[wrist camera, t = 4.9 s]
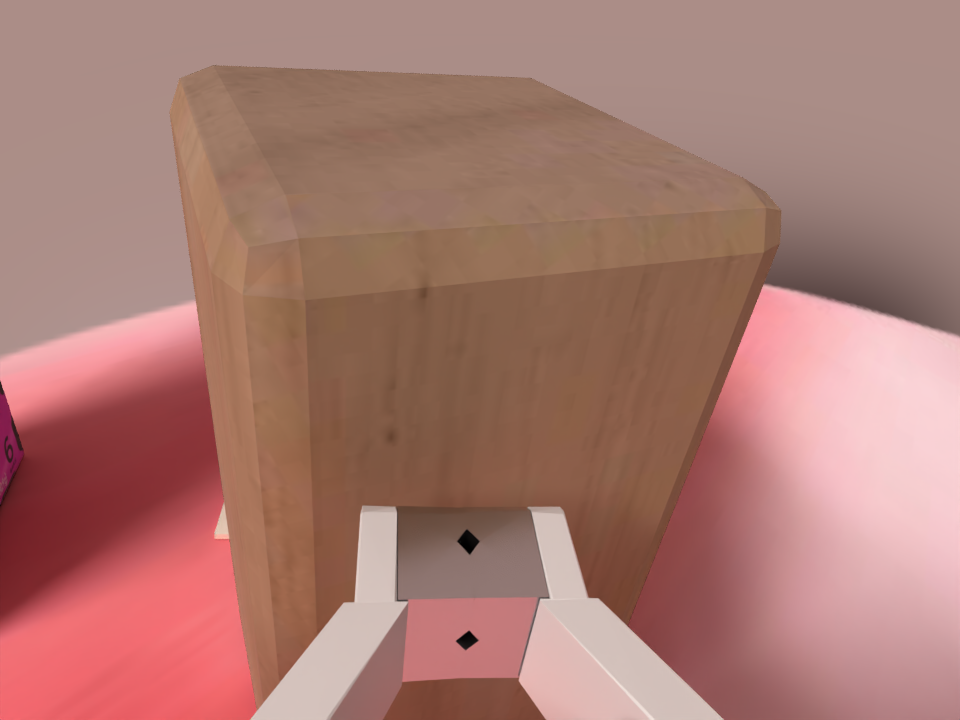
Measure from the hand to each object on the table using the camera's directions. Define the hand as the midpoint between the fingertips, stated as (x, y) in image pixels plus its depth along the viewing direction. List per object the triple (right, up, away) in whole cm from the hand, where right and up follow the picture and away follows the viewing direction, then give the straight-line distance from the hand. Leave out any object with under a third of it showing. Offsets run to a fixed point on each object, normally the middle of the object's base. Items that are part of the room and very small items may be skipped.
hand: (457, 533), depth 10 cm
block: (-3, -9, +14) cm, 17 cm away
